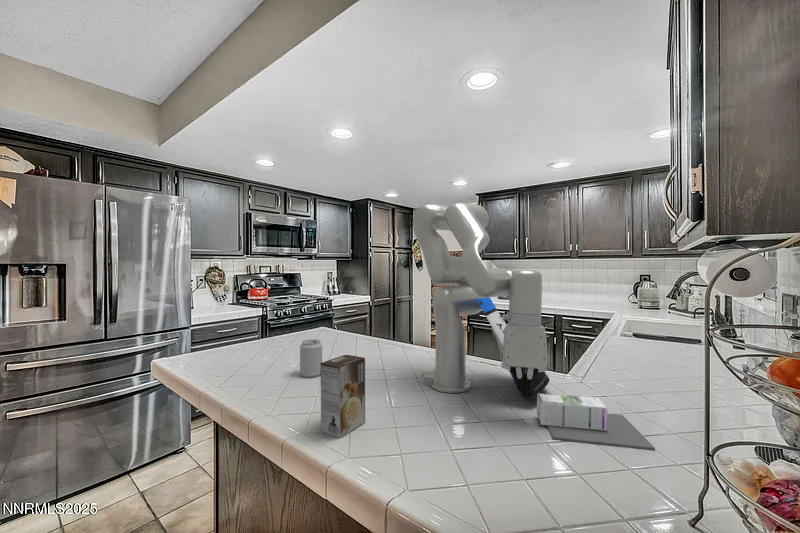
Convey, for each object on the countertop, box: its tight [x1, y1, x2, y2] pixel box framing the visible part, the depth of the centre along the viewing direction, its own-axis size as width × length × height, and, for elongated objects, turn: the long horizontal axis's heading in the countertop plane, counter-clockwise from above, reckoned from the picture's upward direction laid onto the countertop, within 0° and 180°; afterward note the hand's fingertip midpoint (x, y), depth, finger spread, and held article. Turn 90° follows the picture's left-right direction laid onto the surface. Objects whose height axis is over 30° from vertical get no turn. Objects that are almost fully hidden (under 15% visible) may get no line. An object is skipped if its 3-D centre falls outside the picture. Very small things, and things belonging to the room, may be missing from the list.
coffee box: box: [320, 354, 366, 439], centre depth 81 cm, size 9×6×16 cm
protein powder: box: [476, 297, 550, 399], centre depth 105 cm, size 10×24×30 cm, turn 158°
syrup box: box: [536, 392, 609, 431], centre depth 82 cm, size 6×6×14 cm
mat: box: [546, 413, 656, 451], centre depth 81 cm, size 20×16×1 cm
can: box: [299, 338, 323, 379], centre depth 118 cm, size 8×8×12 cm
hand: (523, 392), depth 85 cm, fingers closed
